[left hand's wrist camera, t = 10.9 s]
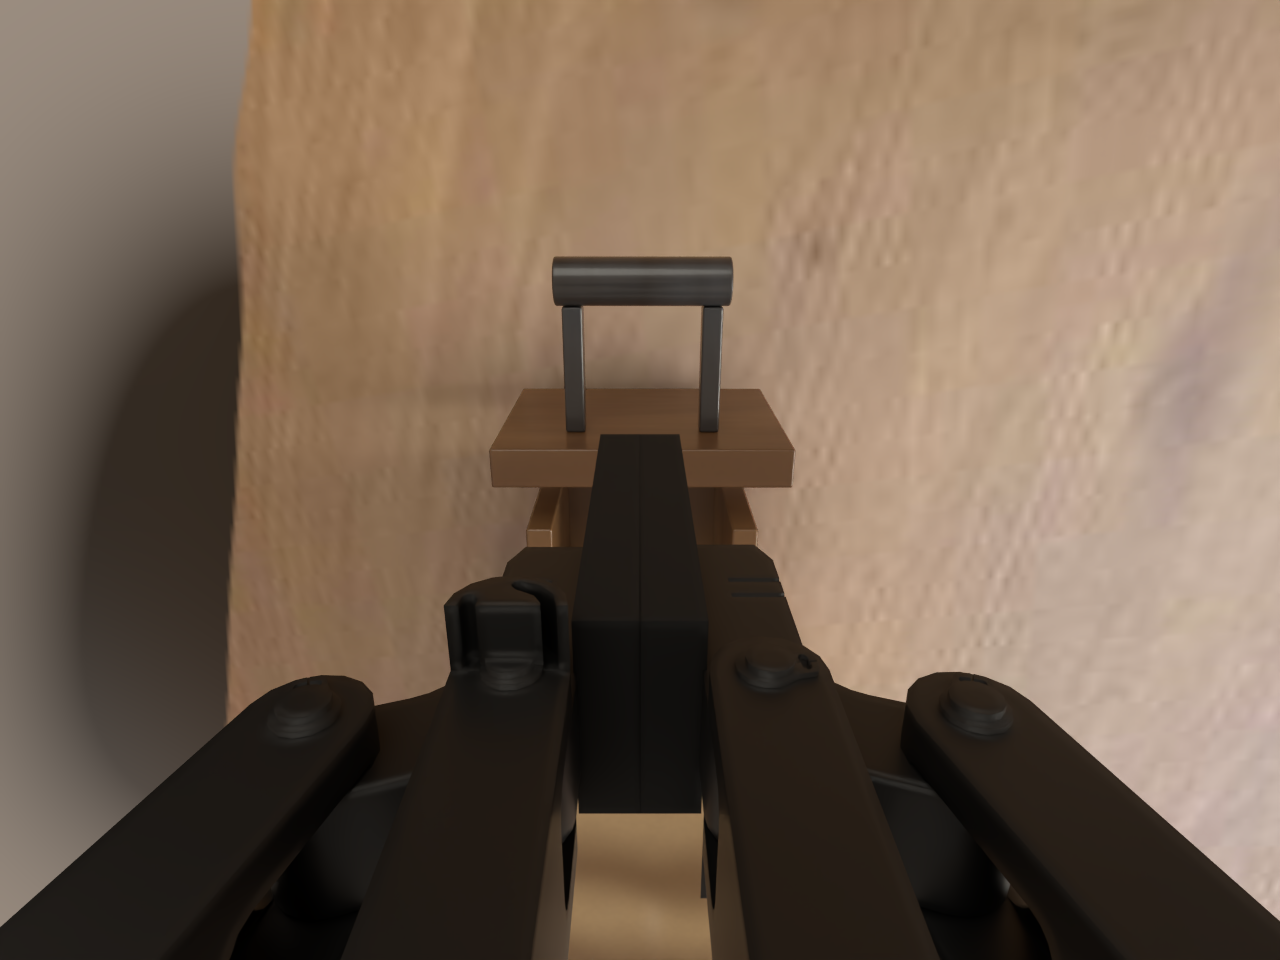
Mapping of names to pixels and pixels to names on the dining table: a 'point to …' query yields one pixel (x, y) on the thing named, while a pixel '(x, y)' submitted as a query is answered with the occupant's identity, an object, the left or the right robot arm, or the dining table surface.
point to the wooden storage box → (639, 888)
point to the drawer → (642, 409)
